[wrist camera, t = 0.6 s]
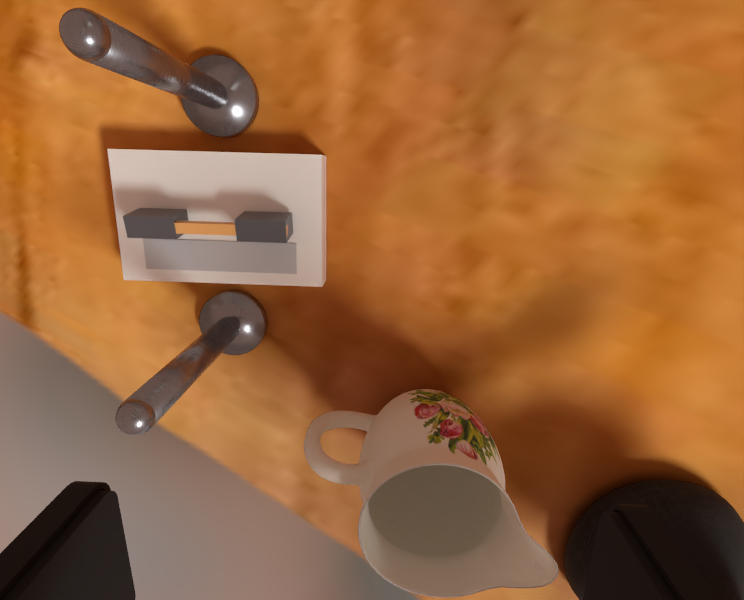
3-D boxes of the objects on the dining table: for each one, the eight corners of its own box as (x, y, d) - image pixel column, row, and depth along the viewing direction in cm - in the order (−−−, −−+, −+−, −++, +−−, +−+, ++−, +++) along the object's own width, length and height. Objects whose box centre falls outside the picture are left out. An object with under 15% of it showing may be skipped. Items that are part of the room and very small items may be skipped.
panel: (126, 150, 36) (106, 148, 33) (326, 156, 35) (321, 154, 33) (140, 273, 38) (123, 280, 36) (326, 279, 38) (322, 287, 35)
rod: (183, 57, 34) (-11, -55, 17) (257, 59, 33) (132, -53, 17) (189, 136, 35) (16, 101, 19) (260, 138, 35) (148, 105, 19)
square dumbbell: (139, 207, 34) (122, 216, 32) (291, 212, 33) (285, 221, 31) (143, 228, 34) (127, 237, 32) (293, 233, 34) (286, 242, 32)
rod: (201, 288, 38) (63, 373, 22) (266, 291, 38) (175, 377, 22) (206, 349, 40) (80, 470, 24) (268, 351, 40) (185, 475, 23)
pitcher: (338, 336, 39) (314, 417, 26) (527, 400, 40) (596, 510, 27) (302, 438, 42) (263, 559, 29) (479, 496, 43) (520, 638, 30)
